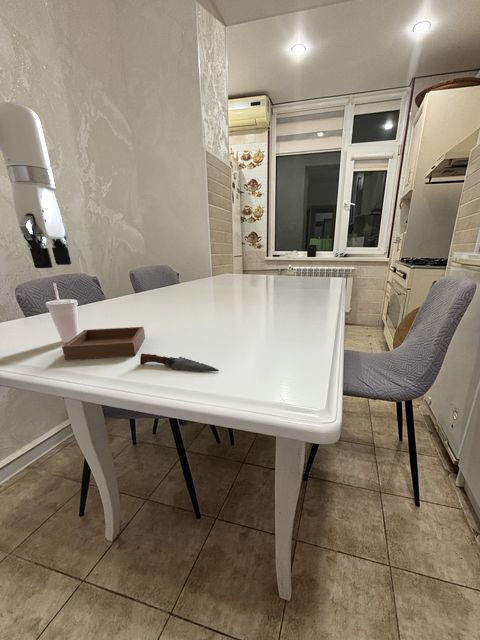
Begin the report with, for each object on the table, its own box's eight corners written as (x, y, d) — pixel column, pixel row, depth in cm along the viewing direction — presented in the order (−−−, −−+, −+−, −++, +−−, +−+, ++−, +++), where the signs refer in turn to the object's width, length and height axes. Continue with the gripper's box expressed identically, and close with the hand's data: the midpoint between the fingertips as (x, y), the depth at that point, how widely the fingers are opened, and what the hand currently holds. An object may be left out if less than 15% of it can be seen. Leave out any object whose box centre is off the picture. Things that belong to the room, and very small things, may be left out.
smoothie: (58, 338, 73) (44, 282, 69) (87, 335, 76) (75, 280, 71) (52, 345, 68) (36, 285, 63) (83, 342, 70) (70, 283, 66)
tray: (65, 360, 60) (61, 346, 59) (86, 341, 71) (84, 329, 70) (135, 355, 62) (133, 342, 61) (145, 338, 74) (143, 326, 73)
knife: (134, 356, 57) (152, 342, 60) (137, 364, 58) (155, 350, 61) (203, 381, 50) (219, 363, 54) (205, 389, 52) (221, 372, 55)
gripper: (34, 187, 67) (53, 264, 73) (-17, 170, 51) (13, 270, 57) (69, 187, 68) (86, 263, 75) (31, 171, 53) (55, 269, 59)
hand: (54, 266), depth 66 cm, fingers open, 9 cm apart
